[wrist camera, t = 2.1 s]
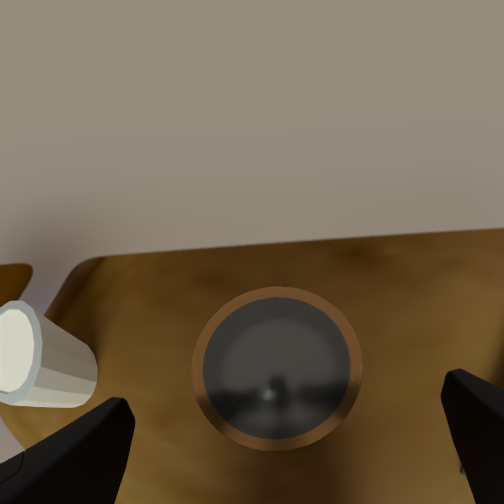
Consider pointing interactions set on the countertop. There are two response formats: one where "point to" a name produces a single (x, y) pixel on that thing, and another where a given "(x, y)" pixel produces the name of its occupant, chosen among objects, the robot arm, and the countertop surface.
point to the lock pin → (276, 368)
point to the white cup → (42, 361)
